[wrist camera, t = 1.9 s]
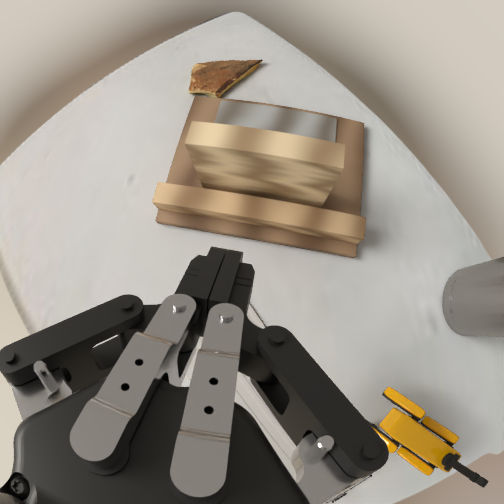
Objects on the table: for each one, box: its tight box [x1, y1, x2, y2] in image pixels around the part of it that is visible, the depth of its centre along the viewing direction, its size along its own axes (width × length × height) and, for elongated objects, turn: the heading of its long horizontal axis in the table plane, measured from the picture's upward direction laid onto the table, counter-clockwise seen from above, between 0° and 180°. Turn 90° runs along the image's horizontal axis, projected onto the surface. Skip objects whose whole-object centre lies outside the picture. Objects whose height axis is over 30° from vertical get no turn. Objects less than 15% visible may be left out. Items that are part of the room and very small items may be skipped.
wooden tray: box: [152, 96, 366, 258], centre depth 36 cm, size 24×19×4 cm
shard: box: [189, 60, 263, 98], centre depth 41 cm, size 11×8×2 cm
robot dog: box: [365, 387, 488, 487], centre depth 25 cm, size 6×18×13 cm, turn 50°
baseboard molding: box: [186, 304, 372, 503], centre depth 32 cm, size 31×3×12 cm
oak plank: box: [184, 121, 345, 208], centre depth 31 cm, size 14×2×11 cm, turn 79°
